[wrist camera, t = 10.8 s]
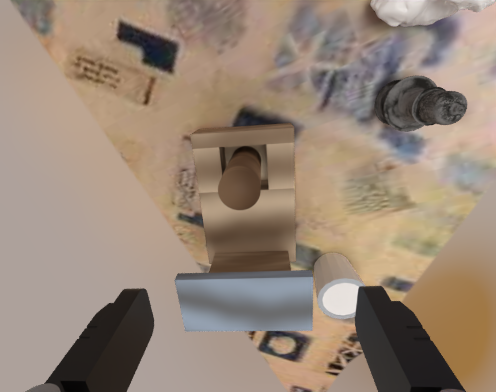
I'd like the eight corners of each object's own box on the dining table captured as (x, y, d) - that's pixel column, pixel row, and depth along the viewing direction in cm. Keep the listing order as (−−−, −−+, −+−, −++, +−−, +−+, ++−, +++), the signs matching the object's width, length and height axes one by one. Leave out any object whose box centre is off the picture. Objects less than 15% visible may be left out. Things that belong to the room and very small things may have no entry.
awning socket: (195, 129, 36) (148, 156, 22) (294, 122, 35) (315, 146, 21) (212, 249, 43) (185, 331, 28) (296, 247, 42) (312, 330, 27)
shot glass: (352, 285, 44) (368, 319, 37) (309, 286, 44) (316, 320, 38) (355, 248, 41) (372, 278, 35) (309, 249, 42) (317, 279, 35)
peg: (232, 175, 38) (220, 211, 26) (230, 146, 36) (215, 171, 25) (261, 174, 37) (261, 209, 26) (260, 144, 36) (259, 168, 25)
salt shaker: (375, 133, 35) (427, 154, 24) (368, 86, 33) (421, 84, 22) (424, 119, 34) (502, 134, 23) (420, 69, 32) (502, 59, 21)
